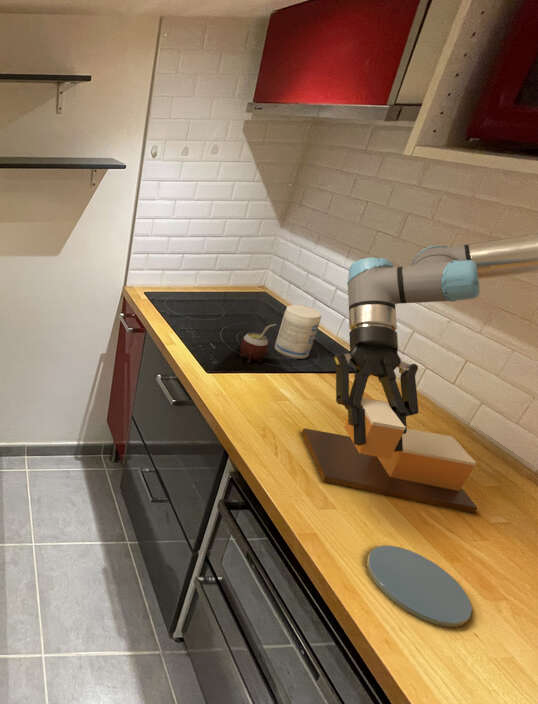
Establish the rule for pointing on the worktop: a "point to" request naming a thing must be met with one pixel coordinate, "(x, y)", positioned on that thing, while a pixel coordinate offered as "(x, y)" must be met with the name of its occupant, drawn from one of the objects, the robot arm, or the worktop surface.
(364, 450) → the cake slice
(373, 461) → the serving board
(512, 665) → the worktop surface
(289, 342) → the supplement tub
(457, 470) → the loaf cake
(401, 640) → the worktop surface
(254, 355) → the mate gourd
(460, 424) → the worktop surface
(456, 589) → the plate
